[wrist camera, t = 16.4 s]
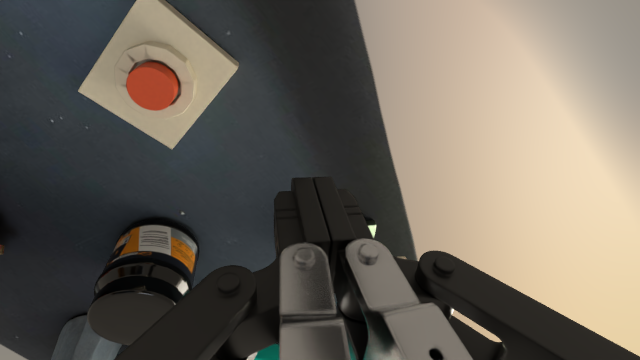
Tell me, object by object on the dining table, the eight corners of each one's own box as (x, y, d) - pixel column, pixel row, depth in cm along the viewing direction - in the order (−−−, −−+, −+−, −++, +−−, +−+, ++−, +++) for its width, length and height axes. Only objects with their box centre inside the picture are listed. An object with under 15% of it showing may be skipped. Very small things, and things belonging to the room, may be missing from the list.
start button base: (150, -13, 30) (137, -11, 27) (239, 62, 35) (237, 72, 31) (86, 84, 33) (68, 97, 30) (175, 141, 38) (168, 157, 35)
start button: (147, 52, 30) (141, 56, 28) (187, 81, 31) (183, 87, 30) (124, 85, 31) (117, 91, 29) (164, 111, 33) (159, 119, 31)
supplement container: (163, 202, 42) (135, 273, 32) (216, 249, 48) (206, 321, 38) (100, 240, 43) (55, 320, 34) (159, 281, 49) (136, 359, 39)
